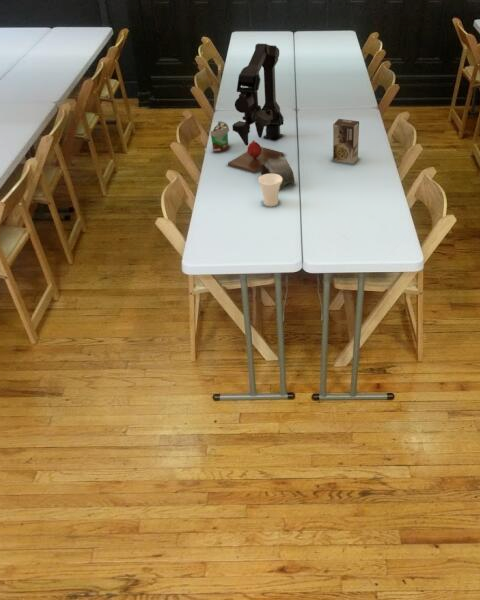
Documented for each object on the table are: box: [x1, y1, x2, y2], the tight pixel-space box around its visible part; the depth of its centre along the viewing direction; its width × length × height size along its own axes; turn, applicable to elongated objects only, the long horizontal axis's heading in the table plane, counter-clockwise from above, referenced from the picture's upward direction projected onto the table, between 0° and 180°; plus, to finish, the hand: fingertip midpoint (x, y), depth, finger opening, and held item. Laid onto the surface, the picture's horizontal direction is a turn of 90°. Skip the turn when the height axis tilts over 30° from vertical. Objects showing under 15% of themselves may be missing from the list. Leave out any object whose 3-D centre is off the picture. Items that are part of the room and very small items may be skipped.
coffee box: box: [332, 118, 360, 165], centre depth 255 cm, size 9×6×16 cm
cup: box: [257, 174, 282, 207], centre depth 229 cm, size 9×9×10 cm
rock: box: [260, 155, 295, 190], centre depth 244 cm, size 18×11×8 cm, turn 16°
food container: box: [210, 120, 230, 154], centre depth 270 cm, size 12×6×10 cm, turn 168°
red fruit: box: [246, 140, 262, 159], centre depth 259 cm, size 6×6×8 cm
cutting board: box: [227, 146, 284, 174], centre depth 262 cm, size 20×14×1 cm
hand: (253, 141), depth 256 cm, fingers open, 9 cm apart
